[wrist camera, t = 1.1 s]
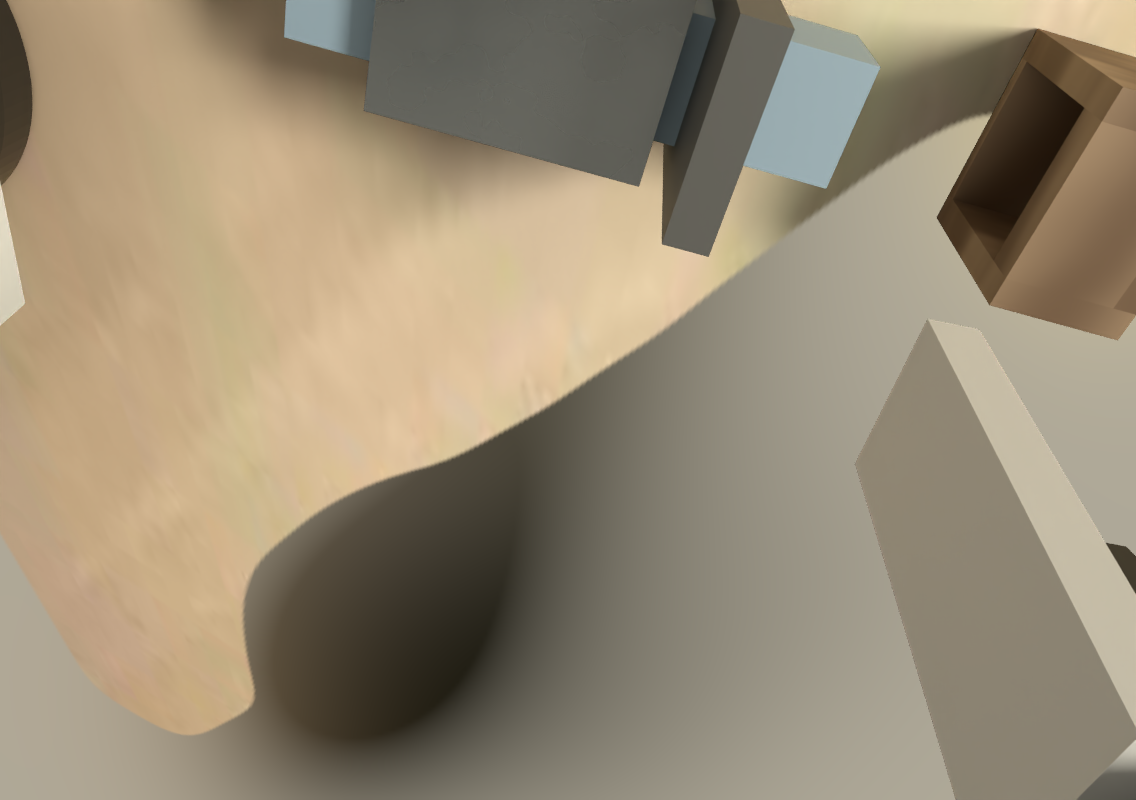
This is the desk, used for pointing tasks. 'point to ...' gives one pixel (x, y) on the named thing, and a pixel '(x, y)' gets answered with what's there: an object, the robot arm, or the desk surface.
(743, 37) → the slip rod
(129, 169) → the desk surface
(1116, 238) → the socket block
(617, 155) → the sleeve
